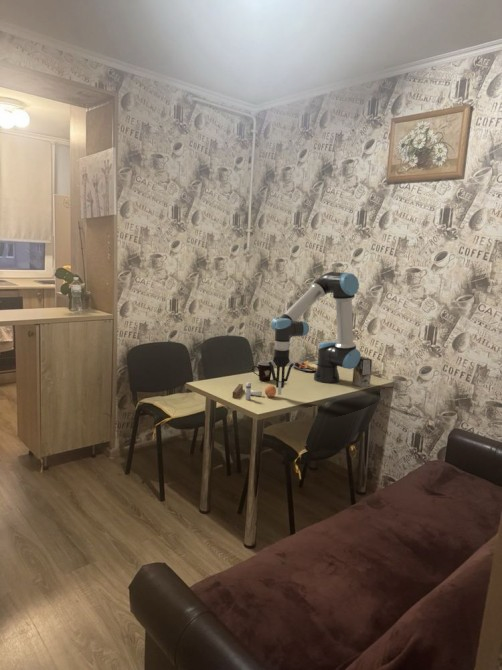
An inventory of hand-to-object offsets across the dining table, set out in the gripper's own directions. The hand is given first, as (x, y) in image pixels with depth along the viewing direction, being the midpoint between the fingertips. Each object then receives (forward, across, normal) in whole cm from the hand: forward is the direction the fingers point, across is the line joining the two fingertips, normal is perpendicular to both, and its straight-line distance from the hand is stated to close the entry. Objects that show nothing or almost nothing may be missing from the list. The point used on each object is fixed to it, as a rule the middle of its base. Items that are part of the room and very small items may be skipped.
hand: (279, 393), depth 239 cm
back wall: (+2, +22, 0) cm, 22 cm away
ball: (-1, +5, 0) cm, 5 cm away
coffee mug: (+2, +14, -31) cm, 34 cm away
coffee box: (+2, -43, -39) cm, 58 cm away
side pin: (+2, +15, +8) cm, 17 cm away
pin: (+1, +10, +1) cm, 10 cm away
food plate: (+3, -12, -71) cm, 72 cm away
